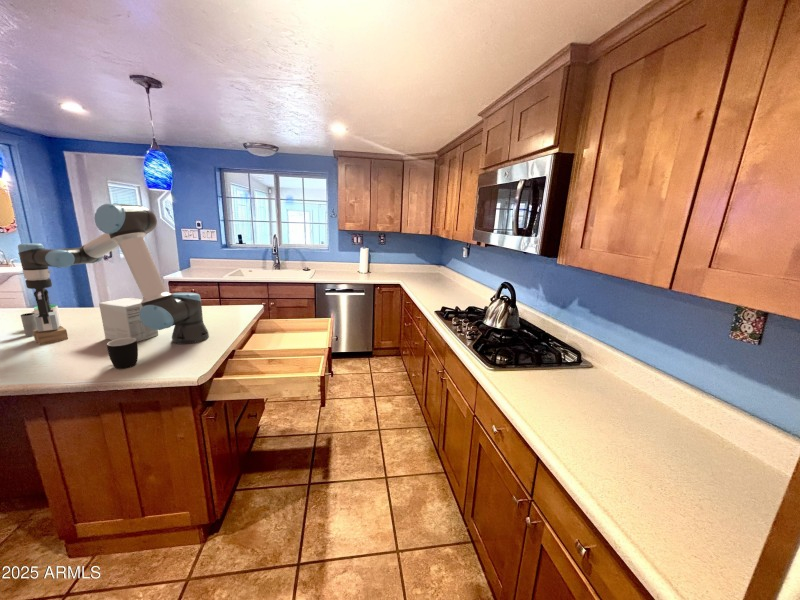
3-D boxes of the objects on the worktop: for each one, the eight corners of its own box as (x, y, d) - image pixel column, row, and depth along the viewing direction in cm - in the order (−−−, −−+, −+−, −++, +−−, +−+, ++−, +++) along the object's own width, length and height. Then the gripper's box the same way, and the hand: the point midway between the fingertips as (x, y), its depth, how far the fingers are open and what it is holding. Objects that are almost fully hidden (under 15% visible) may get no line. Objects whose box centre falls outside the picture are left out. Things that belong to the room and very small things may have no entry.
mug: (145, 363, 128) (141, 340, 125) (118, 372, 120) (113, 347, 117) (128, 357, 132) (125, 334, 130) (102, 365, 125) (97, 341, 122)
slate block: (57, 329, 145) (54, 314, 143) (38, 331, 141) (34, 316, 139) (59, 325, 149) (56, 311, 148) (40, 328, 145) (36, 313, 144)
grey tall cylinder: (24, 335, 150) (19, 314, 148) (38, 332, 154) (34, 312, 152) (26, 337, 148) (21, 316, 145) (40, 334, 152) (36, 314, 149)
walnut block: (68, 339, 148) (66, 329, 147) (40, 345, 141) (37, 334, 139) (62, 335, 153) (60, 325, 151) (34, 340, 145) (32, 330, 144)
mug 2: (32, 331, 155) (28, 311, 152) (23, 329, 157) (18, 309, 155) (65, 325, 166) (60, 306, 163) (56, 322, 168) (51, 304, 166)
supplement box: (159, 335, 158) (154, 300, 154) (131, 344, 146) (125, 306, 141) (134, 330, 162) (128, 296, 158) (104, 339, 150) (97, 302, 146)
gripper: (48, 281, 136) (59, 332, 141) (52, 274, 149) (62, 321, 154) (21, 283, 131) (33, 335, 136) (28, 276, 144) (39, 324, 149)
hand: (48, 328), depth 145 cm, fingers closed on slate block, 6 cm apart
